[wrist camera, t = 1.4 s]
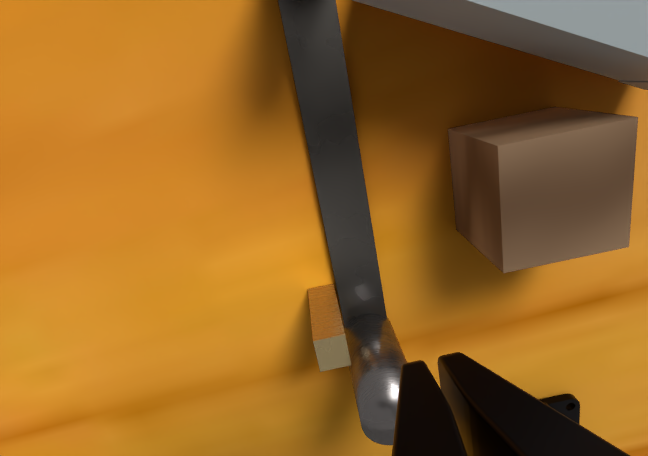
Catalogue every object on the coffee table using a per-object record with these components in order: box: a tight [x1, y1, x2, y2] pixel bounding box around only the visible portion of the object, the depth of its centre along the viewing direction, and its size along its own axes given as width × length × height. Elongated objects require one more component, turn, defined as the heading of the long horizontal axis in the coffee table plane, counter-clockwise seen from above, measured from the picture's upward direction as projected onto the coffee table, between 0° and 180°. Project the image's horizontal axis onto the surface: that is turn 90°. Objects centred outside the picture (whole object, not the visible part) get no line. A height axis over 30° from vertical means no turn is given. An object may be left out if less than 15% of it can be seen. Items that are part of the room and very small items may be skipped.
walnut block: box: [448, 107, 638, 273], centre depth 16 cm, size 4×4×4 cm
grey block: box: [353, 0, 648, 90], centre depth 13 cm, size 12×2×5 cm, turn 76°
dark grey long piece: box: [278, 0, 407, 445], centre depth 15 cm, size 18×4×6 cm, turn 11°
